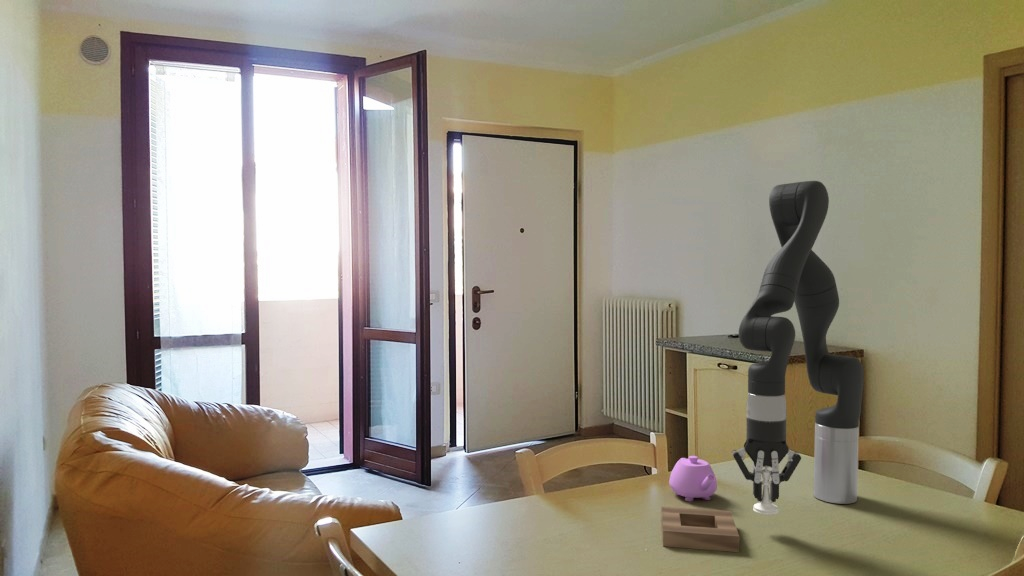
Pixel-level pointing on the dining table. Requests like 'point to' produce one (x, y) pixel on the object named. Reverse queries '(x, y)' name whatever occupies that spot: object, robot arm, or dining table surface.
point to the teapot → (693, 479)
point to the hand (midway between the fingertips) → (765, 500)
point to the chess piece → (766, 496)
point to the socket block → (699, 529)
